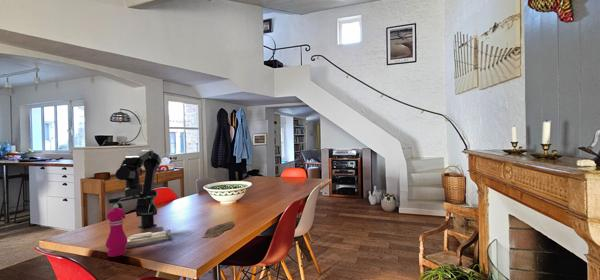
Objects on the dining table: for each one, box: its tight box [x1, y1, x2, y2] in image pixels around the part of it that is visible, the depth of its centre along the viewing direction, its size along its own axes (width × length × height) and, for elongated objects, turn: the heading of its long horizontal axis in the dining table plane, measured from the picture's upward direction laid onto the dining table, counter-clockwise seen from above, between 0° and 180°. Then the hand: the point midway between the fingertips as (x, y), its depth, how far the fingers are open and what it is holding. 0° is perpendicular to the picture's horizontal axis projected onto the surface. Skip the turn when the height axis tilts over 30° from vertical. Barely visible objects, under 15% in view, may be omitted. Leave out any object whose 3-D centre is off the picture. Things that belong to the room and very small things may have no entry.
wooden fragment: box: [202, 220, 236, 239], centre depth 136 cm, size 26×11×1 cm, turn 161°
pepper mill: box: [105, 204, 128, 258], centre depth 109 cm, size 7×7×20 cm
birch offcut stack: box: [125, 230, 167, 246], centre depth 121 cm, size 8×16×2 cm, turn 118°
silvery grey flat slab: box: [125, 229, 172, 249], centre depth 121 cm, size 8×20×2 cm, turn 118°
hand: (136, 216), depth 123 cm, fingers open, 9 cm apart
